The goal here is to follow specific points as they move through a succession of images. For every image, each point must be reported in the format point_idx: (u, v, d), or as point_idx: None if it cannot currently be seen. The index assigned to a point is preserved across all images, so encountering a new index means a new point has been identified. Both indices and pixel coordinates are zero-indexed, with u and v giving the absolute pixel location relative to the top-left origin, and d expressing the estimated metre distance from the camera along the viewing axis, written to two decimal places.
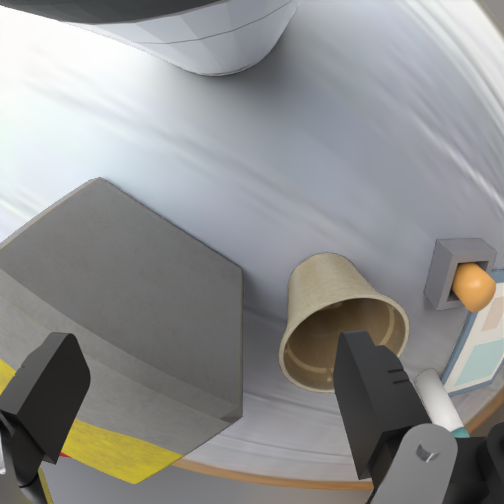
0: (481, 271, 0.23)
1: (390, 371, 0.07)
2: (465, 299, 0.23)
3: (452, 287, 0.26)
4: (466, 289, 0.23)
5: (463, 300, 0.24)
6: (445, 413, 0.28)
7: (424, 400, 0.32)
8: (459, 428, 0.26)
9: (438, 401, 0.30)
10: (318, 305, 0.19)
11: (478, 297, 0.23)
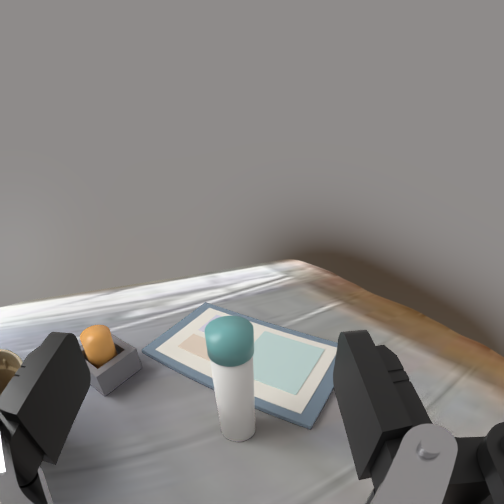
0: None
1: (390, 371, 0.07)
2: (85, 346, 0.30)
3: (94, 363, 0.31)
4: (82, 344, 0.30)
5: (88, 348, 0.30)
6: None
7: (227, 418, 0.24)
8: None
9: None
10: None
11: (92, 336, 0.31)
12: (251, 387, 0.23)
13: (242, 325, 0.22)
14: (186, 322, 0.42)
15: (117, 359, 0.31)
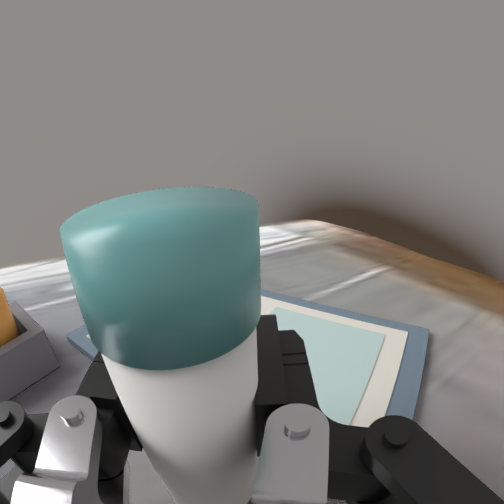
0: None
1: (291, 354, 0.08)
2: None
3: None
4: None
5: None
6: None
7: None
8: None
9: None
10: None
11: None
12: (251, 438, 0.07)
13: (215, 198, 0.06)
14: None
15: (10, 346, 0.14)
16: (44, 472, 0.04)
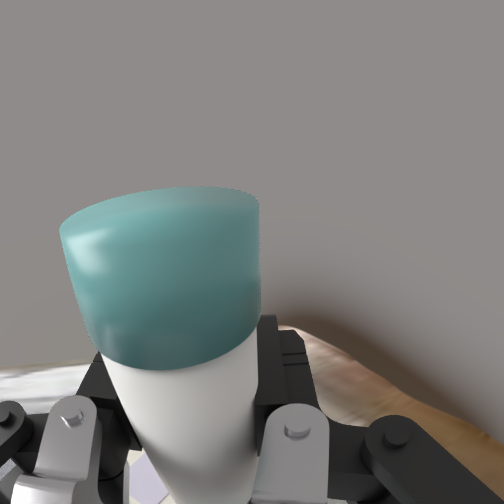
0: None
1: (291, 354, 0.08)
2: None
3: None
4: None
5: None
6: None
7: None
8: None
9: None
10: None
11: None
12: (251, 439, 0.07)
13: (214, 198, 0.06)
14: None
15: None
16: (44, 472, 0.04)
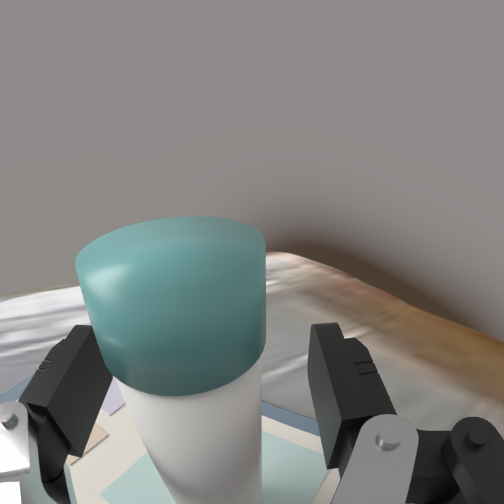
0: None
1: (358, 363, 0.08)
2: None
3: None
4: None
5: None
6: None
7: None
8: None
9: None
10: None
11: None
12: (254, 452, 0.07)
13: (223, 233, 0.06)
14: None
15: None
16: None
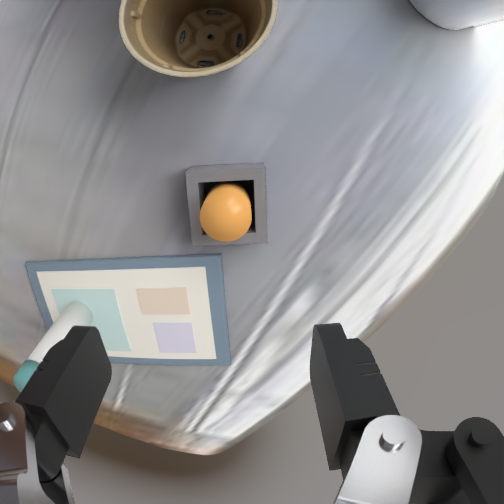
0: None
1: (361, 363, 0.07)
2: (217, 192, 0.22)
3: (217, 186, 0.24)
4: (231, 190, 0.22)
5: (214, 192, 0.22)
6: None
7: (59, 319, 0.27)
8: None
9: None
10: None
11: (223, 211, 0.22)
12: None
13: None
14: (217, 325, 0.32)
15: (193, 214, 0.25)
16: None
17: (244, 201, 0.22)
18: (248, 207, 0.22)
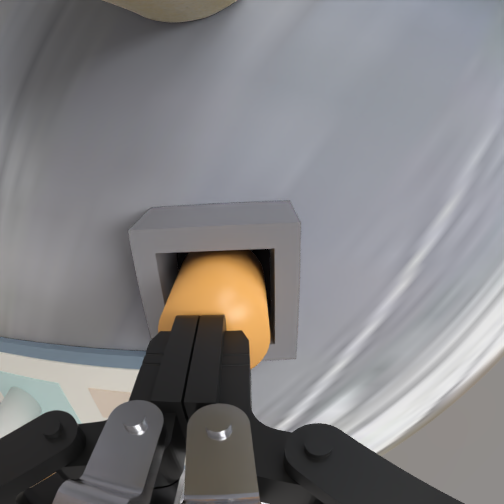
0: None
1: (234, 354, 0.08)
2: (194, 286, 0.10)
3: (197, 256, 0.12)
4: (224, 280, 0.10)
5: (188, 283, 0.10)
6: None
7: None
8: None
9: None
10: None
11: None
12: None
13: None
14: None
15: (152, 312, 0.12)
16: (93, 480, 0.04)
17: (254, 309, 0.10)
18: (263, 320, 0.10)
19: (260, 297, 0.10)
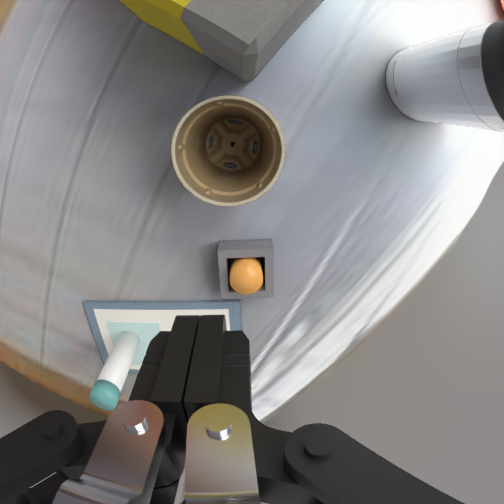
0: None
1: (234, 354, 0.08)
2: (241, 264, 0.34)
3: None
4: (250, 262, 0.35)
5: (239, 263, 0.35)
6: (122, 371, 0.35)
7: (117, 346, 0.38)
8: (119, 391, 0.33)
9: (125, 359, 0.37)
10: (276, 121, 0.24)
11: (244, 276, 0.35)
12: None
13: (100, 405, 0.32)
14: None
15: (222, 278, 0.36)
16: (93, 479, 0.04)
17: (258, 270, 0.34)
18: (261, 274, 0.35)
19: (260, 268, 0.35)
